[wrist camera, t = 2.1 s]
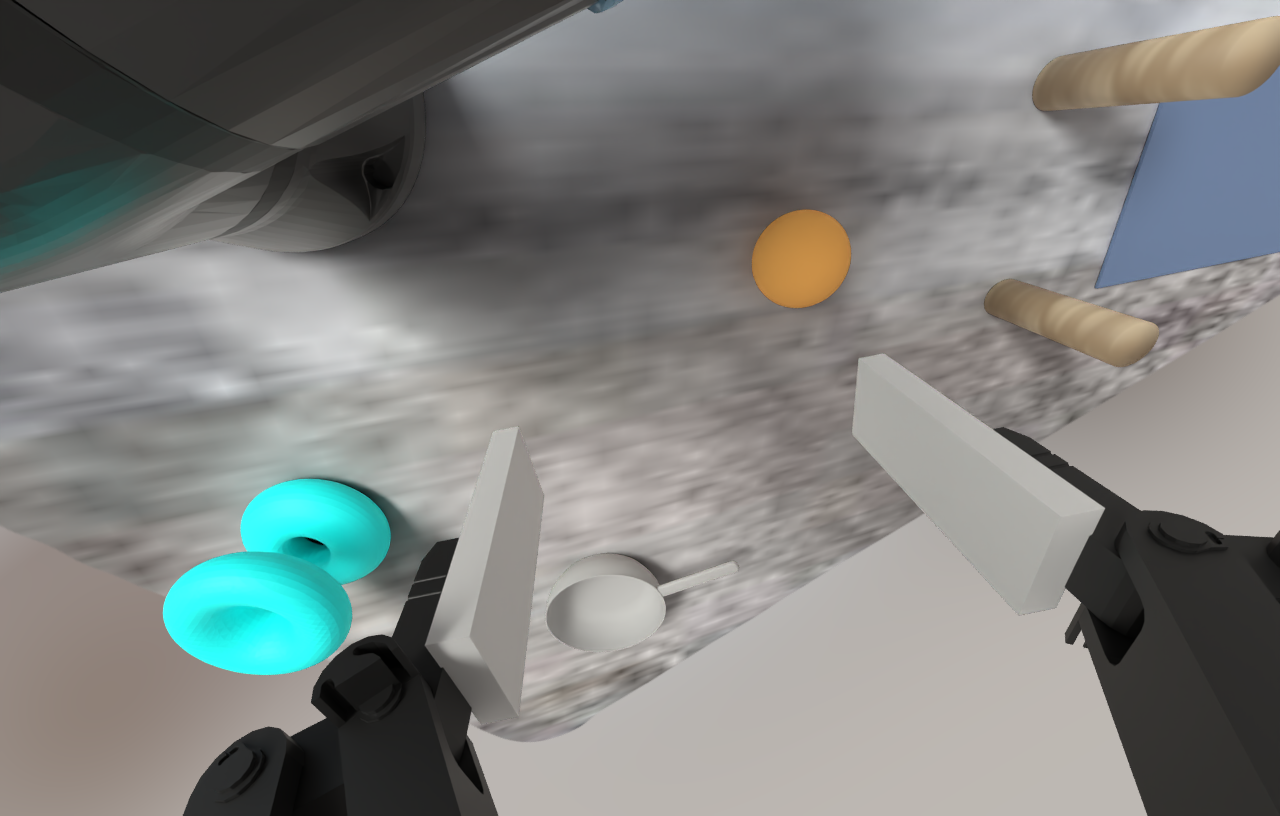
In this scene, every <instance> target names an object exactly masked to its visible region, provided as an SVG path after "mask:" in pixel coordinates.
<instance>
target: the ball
mask: <svg viewBox="0 0 1280 816" xmlns="http://www.w3.org/2000/svg"><path fill="white" fill-rule="evenodd" d="M850 261H851V246H850V242H849V238H848V236H847V234H846V232H845V230H844V228H843V227H842V226H841V225H840V224H839V222H838V221H837V220H835V219H834V218H833V217H831V216H829V215H828V214H826V213H823V212H820V211H816V210H797V211H793V212H789V213H787V214H784V215H782V216H781V217H779V218H777V219H776V220H775V221H773V222H772V223H771V224H770V225H769V226H767V228H766V229H765V230H764V231H763V232H762V234H761V235H760V237H759V239H758V240H757V242H756V245H755V247H754V251H753V256H752V273H753V277H754V279H755V282H756V284H757V286H758V288H759V289H760V291H761V292H762V293H763V294H764V295H765V296H766V297H767V298H768V299H769V300H771V301H772V302H774V303H776V304H778V305H781V306H784V307H789V308H804V307H809V306H812V305H815V304H817V303H820V302H822V301H823V300H825V299H827V298H828V297H829V296H831V295H832V294H833V293H834V292H835V291H836V290H837V289H838V288H839V286H840V285H841V284H842V282H843V280H844V279H845V277H846V275H847V272H848V270H849V266H850Z"/></svg>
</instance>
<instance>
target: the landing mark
mask: <svg viewBox="0 0 1280 816" xmlns="http://www.w3.org/2000/svg"><path fill="white" fill-rule="evenodd" d="M1277 252H1280V65H1279V67H1278V68H1277V69H1276V71H1275V72H1274V73H1273V74H1272V75H1271V77H1270V78H1269V79H1268V80H1267V81H1266V82H1264V83H1263V84H1262V85H1261V86H1260V87H1258V88H1257V89H1255V90H1254V91H1252V92H1250V93H1248V94H1246V95H1244V96H1240V97H1232V98H1218V99H1205V100H1191V101H1177V102H1163V103H1160V104H1159V107H1158V110H1157V113H1156V115H1155V118H1154V121H1153V124H1152V127H1151V130H1150V132H1149V135H1148V138H1147V141H1146V144H1145V147H1144V149H1143V152H1142V155H1141V158H1140V161H1139V164H1138V167H1137V169H1136V172H1135V175H1134V178H1133V181H1132V184H1131V186H1130V189H1129V192H1128V195H1127V198H1126V201H1125V203H1124V206H1123V209H1122V212H1121V215H1120V218H1119V220H1118V223H1117V226H1116V229H1115V232H1114V235H1113V237H1112V240H1111V243H1110V246H1109V249H1108V252H1107V254H1106V257H1105V260H1104V263H1103V266H1102V269H1101V271H1100V274H1099V277H1098V280H1097V283H1096V286H1095V288H1102V287H1107V286H1112V285H1117V284H1122V283H1127V282H1132V281H1137V280H1142V279H1147V278H1152V277H1157V276H1162V275H1167V274H1172V273H1177V272H1182V271H1187V270H1192V269H1197V268H1202V267H1207V266H1212V265H1217V264H1222V263H1227V262H1232V261H1237V260H1242V259H1247V258H1252V257H1257V256H1262V255H1267V254H1272V253H1277Z"/></svg>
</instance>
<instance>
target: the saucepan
mask: <svg viewBox="0 0 1280 816" xmlns="http://www.w3.org/2000/svg"><path fill="white" fill-rule="evenodd" d="M738 570H739V565H738V564H737V562H735V561H730V562H727V563H724V564H721V565H718V566H715V567H712V568H709V569H706V570H703V571H700V572H697V573H694V574H691V575H688V576H685V577H683V578H680V579H677V580H674V581H671V582H668V583H665V584H662V585H659V583H658V581H657V579H656V578H655V577H654V576H653V574H652V573H651V572H650V571H649V570H648V569H647V568H646V567H644V566H643V565H642V564H640V563H639V562H638V561H636V560H635V559H633V558H631V557H628V556H624V555H620V554H610V553H606V554H597V555H592V556H589V557H586V558H583V559H581V560H579V561H577V562H576V563H574V564H573V565H571V566H570V567H569V568H568V569H567V570H566V571H565V572H564V573H563V574H562V575H561V576H560V577H559V579H558V580H557V582H556V583H555V585H554V586H553V588H552V589H551V592H550V594H549V598H548V602H547V609H546V615H545V621H546V626H547V628H548V630H549V632H550V633H551V634H552V635H553V637H555V638H556V639H557V640H558V641H559V642H561V643H563V644H565V645H567V646H569V647H572V648H574V649H578V650H582V651H589V652H610V651H616V650H621V649H625V648H628V647H631V646H634V645H636V644H638V643H640V642H642V641H644V640H645V639H647V638H649V637H650V636H651V635H652V634H654V633H655V632H656V631H657V629H658V628H659V627H660V626H661V624H662V622H663V620H664V617H665V614H666V605H665V601H664V596H667V595H670V594H673V593H676V592H679V591H682V590H685V589H688V588H691V587H694V586H697V585H700V584H703V583H706V582H709V581H712V580H715V579H718V578H721V577H724V576H727V575H730V574H733V573H736V572H737V571H738Z"/></svg>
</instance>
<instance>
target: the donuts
mask: <svg viewBox="0 0 1280 816" xmlns="http://www.w3.org/2000/svg"><path fill="white" fill-rule="evenodd" d="M241 536H242V540H243V544H244V546H245V548H246V550H247V551H248V552H237V553H232V554H227V555H223V556H219V557H216V558H213V559H210V560H208V561H205V562H203V563H201V564H199V565H197V566H195V567H194V568H192V569H191V570H189V571H188V572H187V573H185V574H184V575H183V576H182V577H180V578H179V580H178V581H177V582H176V583H175V584H174V585H173V586H172V588H171V589H170V591H169V593H168V595H167V597H166V599H165V603H164V609H163V618H164V622H165V626H166V628H167V630H168V632H169V634H170V635H171V637H172V638H173V640H175V642H176V643H177V644H178V645H179V646H180V647H181V648H183V649H184V650H185V651H186V652H188V653H190V654H191V655H192V656H194V657H196V658H198V659H200V660H201V661H203V662H206V663H208V664H211V665H213V666H216V667H219V668H223V669H226V670H230V671H234V672H240V673H245V674H257V675H276V674H286V673H291V672H296V671H300V670H303V669H306V668H309V667H311V666H313V665H316V664H318V663H320V662H321V661H323V660H325V659H326V658H328V657H329V656H330V655H332V654H333V653H334V652H335V651H336V650H337V649H338V648H339V647H340V645H341V644H342V643H343V642H344V640H345V639H346V637H347V635H348V633H349V630H350V627H351V622H352V607H351V603H350V600H349V598H348V595H347V593H346V592H345V590H344V588H343V587H342V586H341V585H343V584H347V583H350V582H353V581H356V580H358V579H360V578H363V577H364V576H366V575H368V574H369V573H370V572H372V571H373V570H374V569H376V568H377V567H378V566H379V565H380V563H381V562H382V561H383V560H384V558H385V556H386V554H387V552H388V550H389V547H390V541H391V531H390V527H389V523H388V521H387V519H386V517H385V515H384V513H383V512H382V510H381V509H380V508H379V507H378V506H377V505H376V504H375V503H374V502H373V501H372V500H371V499H370V498H368V497H367V496H365V495H364V494H362V493H361V492H359V491H357V490H355V489H353V488H351V487H348V486H346V485H343V484H340V483H337V482H333V481H328V480H321V479H297V480H291V481H286V482H283V483H280V484H277V485H274V486H272V487H270V488H268V489H266V490H265V491H263V492H261V493H260V494H259V495H258V496H256V497H255V498H254V499H253V500H252V502H251V503H250V504H249V505H248V507H247V508H246V510H245V512H244V514H243V517H242V522H241ZM304 537H308V538H313V539H315V540H318V541H320V542H322V543H323V544H325V545H326V546H325V545H320V544H317V543H314V542H311V541H309V540H307V539H306V538H304Z"/></svg>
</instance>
